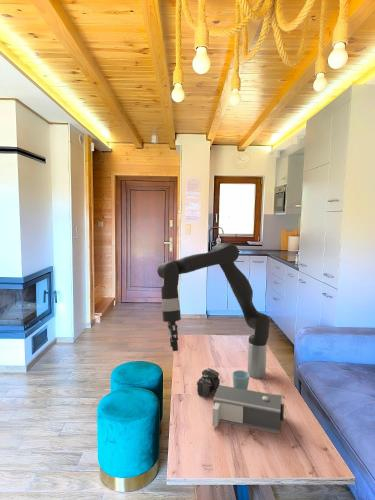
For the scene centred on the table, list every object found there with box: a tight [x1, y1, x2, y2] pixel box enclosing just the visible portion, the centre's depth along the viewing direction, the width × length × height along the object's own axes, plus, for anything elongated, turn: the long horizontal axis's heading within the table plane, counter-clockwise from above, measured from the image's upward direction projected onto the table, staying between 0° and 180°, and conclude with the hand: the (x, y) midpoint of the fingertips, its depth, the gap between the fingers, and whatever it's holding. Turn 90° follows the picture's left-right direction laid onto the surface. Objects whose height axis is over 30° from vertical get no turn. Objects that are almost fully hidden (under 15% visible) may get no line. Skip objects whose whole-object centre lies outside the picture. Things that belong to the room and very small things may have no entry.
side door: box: [211, 401, 243, 427], centre depth 124 cm, size 6×11×7 cm, turn 72°
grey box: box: [212, 384, 285, 435], centre depth 129 cm, size 11×27×10 cm, turn 72°
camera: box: [196, 367, 221, 398], centre depth 150 cm, size 13×10×10 cm
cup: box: [232, 369, 250, 390], centre depth 145 cm, size 8×8×10 cm
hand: (174, 348), depth 131 cm, fingers open, 8 cm apart
